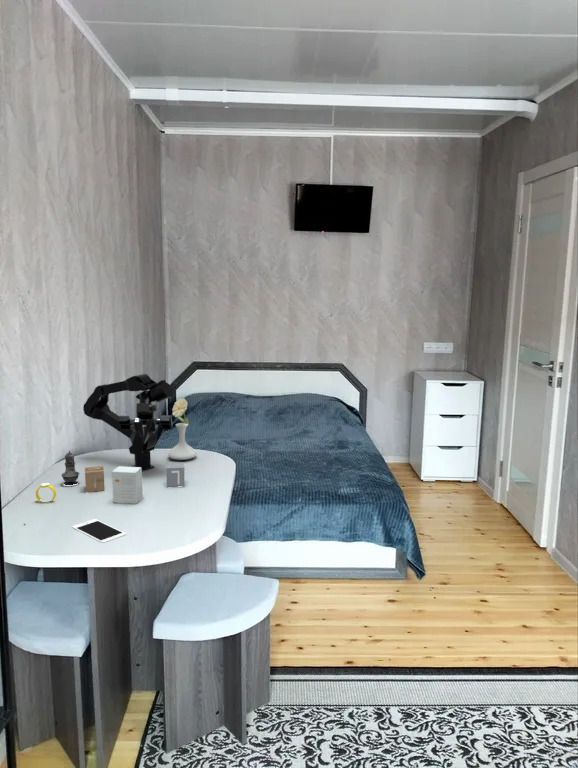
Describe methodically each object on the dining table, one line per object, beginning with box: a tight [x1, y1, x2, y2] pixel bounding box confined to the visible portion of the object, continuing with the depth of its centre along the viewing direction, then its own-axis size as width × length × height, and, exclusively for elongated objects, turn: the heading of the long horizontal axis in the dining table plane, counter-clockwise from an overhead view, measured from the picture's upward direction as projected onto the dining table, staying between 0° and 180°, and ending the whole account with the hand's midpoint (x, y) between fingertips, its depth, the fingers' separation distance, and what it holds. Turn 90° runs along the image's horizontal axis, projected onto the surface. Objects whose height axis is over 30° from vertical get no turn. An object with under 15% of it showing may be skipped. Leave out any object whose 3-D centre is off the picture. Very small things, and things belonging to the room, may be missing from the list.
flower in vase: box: [167, 397, 198, 461], centre depth 238 cm, size 13×11×25 cm
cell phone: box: [71, 518, 127, 544], centre depth 171 cm, size 8×16×1 cm, turn 50°
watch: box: [35, 482, 57, 502], centre depth 192 cm, size 6×3×6 cm, turn 92°
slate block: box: [165, 462, 186, 488], centre depth 210 cm, size 6×6×7 cm
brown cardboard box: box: [84, 465, 105, 493], centre depth 204 cm, size 6×6×7 cm
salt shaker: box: [61, 450, 80, 485], centre depth 208 cm, size 6×6×12 cm
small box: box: [111, 465, 144, 505], centre depth 194 cm, size 8×6×10 cm
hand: (143, 443), depth 212 cm, fingers closed
